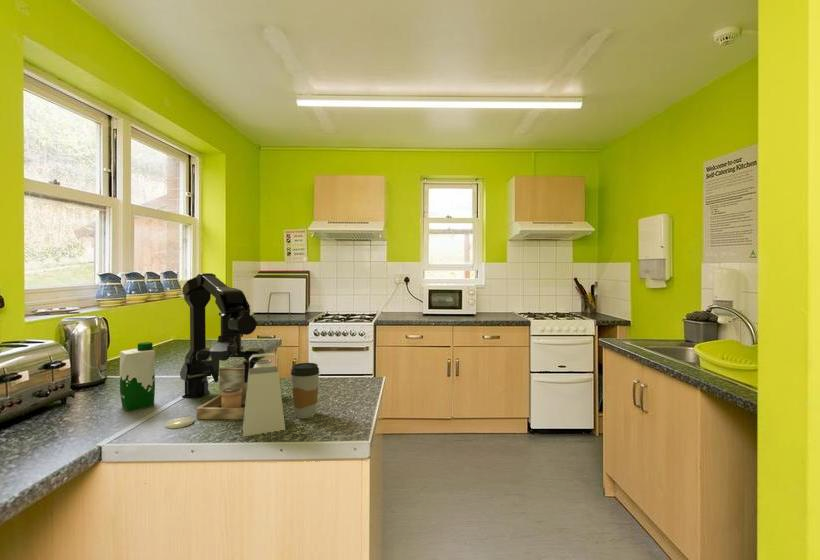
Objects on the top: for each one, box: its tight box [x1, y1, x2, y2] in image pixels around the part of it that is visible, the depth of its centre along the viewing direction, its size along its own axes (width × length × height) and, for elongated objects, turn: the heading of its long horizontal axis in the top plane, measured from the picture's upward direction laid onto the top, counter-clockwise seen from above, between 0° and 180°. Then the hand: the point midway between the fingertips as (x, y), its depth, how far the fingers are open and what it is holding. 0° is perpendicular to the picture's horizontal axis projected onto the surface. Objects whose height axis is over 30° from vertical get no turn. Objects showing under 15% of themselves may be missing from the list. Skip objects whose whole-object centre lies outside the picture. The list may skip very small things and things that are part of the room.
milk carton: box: [119, 341, 156, 412], centre depth 126 cm, size 9×9×20 cm
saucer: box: [164, 416, 195, 429], centre depth 112 cm, size 7×7×1 cm
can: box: [253, 359, 274, 368], centre depth 137 cm, size 6×6×12 cm
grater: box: [242, 352, 286, 437], centre depth 110 cm, size 10×10×20 cm
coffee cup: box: [290, 362, 320, 420], centre depth 118 cm, size 8×8×15 cm
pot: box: [219, 387, 243, 408], centre depth 120 cm, size 6×6×7 cm
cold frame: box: [196, 367, 248, 420], centre depth 122 cm, size 16×14×12 cm
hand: (231, 382), depth 120 cm, fingers open, 9 cm apart
